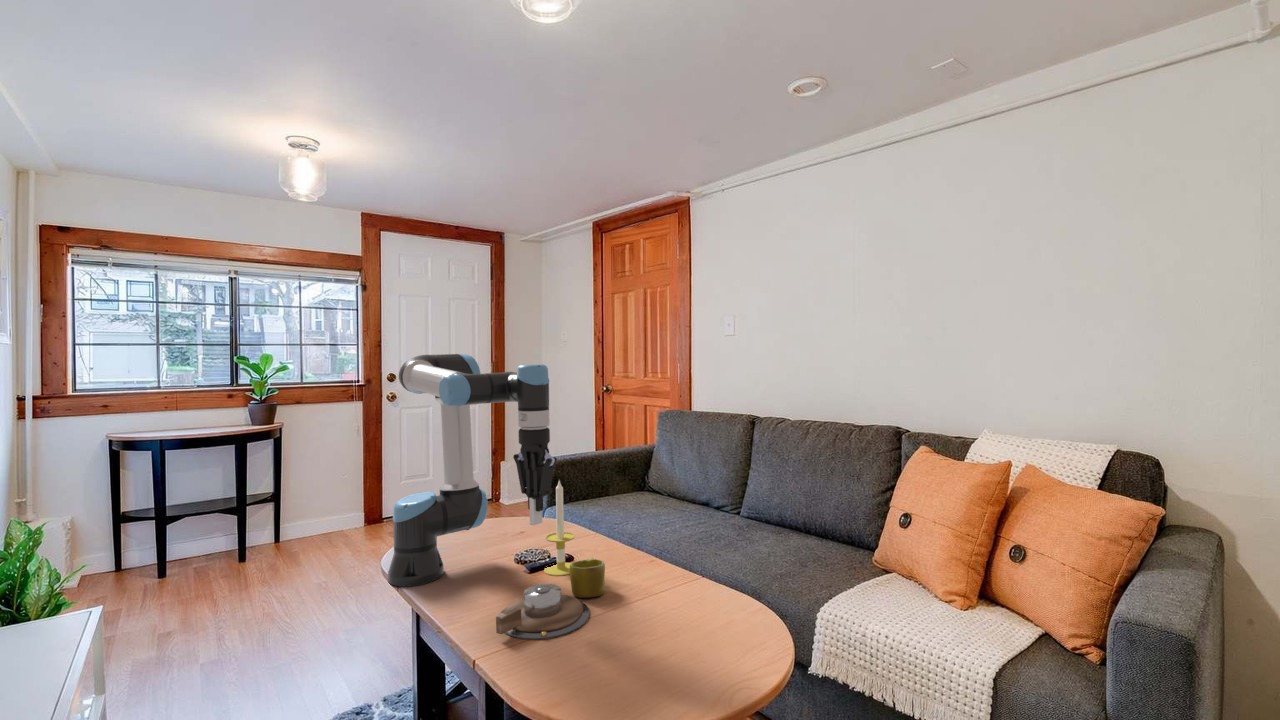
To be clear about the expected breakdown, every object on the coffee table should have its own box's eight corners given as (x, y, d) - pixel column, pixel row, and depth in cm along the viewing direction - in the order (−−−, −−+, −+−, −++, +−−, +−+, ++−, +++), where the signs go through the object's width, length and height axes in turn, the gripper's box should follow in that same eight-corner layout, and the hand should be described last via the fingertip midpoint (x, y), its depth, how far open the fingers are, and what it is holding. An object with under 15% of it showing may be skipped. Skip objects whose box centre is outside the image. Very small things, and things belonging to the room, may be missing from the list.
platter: (471, 626, 133) (471, 606, 133) (543, 591, 152) (543, 574, 152) (528, 649, 122) (528, 628, 122) (599, 608, 141) (598, 590, 141)
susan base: (477, 623, 136) (477, 617, 136) (544, 591, 154) (544, 586, 154) (543, 649, 123) (543, 643, 123) (607, 611, 141) (607, 605, 141)
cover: (516, 612, 137) (515, 590, 137) (541, 599, 145) (540, 578, 145) (544, 620, 132) (544, 597, 133) (569, 606, 140) (568, 584, 140)
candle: (584, 570, 168) (582, 479, 168) (553, 578, 162) (551, 484, 162) (568, 561, 176) (566, 474, 176) (538, 568, 171) (536, 478, 170)
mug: (605, 596, 145) (595, 557, 148) (568, 606, 147) (559, 567, 150) (619, 587, 157) (609, 550, 159) (585, 596, 159) (576, 560, 161)
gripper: (504, 427, 140) (506, 523, 140) (542, 430, 133) (544, 532, 133) (526, 424, 146) (528, 516, 146) (564, 427, 139) (566, 524, 139)
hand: (536, 523), depth 140 cm, fingers closed
